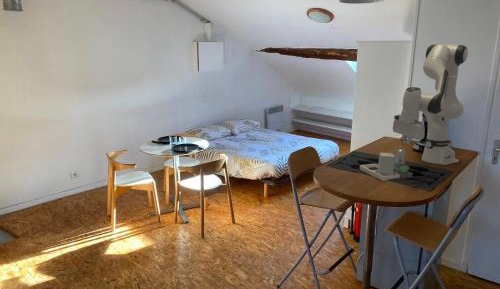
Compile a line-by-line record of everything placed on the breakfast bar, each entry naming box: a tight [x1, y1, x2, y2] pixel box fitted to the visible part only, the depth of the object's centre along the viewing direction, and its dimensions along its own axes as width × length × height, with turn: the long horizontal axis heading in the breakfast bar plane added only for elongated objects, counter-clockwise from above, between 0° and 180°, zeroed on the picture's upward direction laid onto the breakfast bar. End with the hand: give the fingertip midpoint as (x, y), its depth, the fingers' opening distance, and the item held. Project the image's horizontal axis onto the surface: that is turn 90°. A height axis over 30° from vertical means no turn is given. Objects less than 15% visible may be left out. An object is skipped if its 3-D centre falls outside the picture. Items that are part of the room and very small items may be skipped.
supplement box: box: [377, 152, 396, 176], centre depth 212 cm, size 7×7×13 cm
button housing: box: [394, 170, 414, 180], centre depth 213 cm, size 7×7×3 cm
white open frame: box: [359, 163, 401, 182], centre depth 218 cm, size 21×11×2 cm, turn 20°
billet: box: [394, 148, 407, 168], centre depth 226 cm, size 5×5×11 cm
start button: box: [399, 165, 409, 174], centre depth 213 cm, size 4×4×4 cm
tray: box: [394, 163, 410, 171], centre depth 227 cm, size 8×8×2 cm
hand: (406, 143), depth 209 cm, fingers closed
